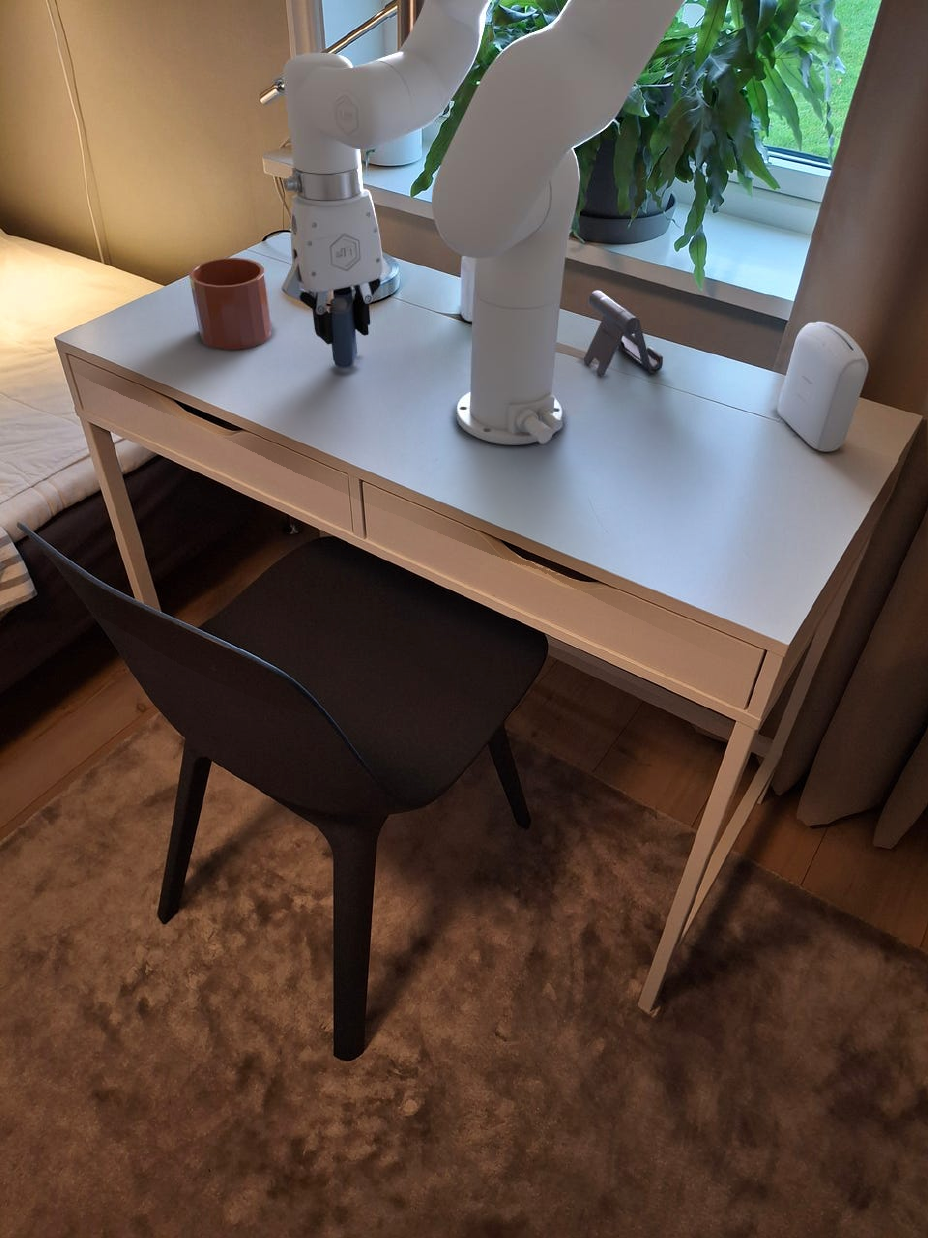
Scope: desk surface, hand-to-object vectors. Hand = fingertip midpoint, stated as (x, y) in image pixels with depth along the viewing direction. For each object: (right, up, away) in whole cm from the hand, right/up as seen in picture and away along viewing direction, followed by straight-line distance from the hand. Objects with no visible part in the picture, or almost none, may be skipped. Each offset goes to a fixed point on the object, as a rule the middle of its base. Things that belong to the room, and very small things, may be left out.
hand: (343, 334), depth 116 cm
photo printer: (+56, -14, -7) cm, 58 cm away
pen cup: (-16, +3, +9) cm, 18 cm away
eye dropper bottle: (+18, +7, +14) cm, 24 cm away
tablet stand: (+35, -3, +5) cm, 36 cm away
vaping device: (0, -3, +2) cm, 4 cm away
